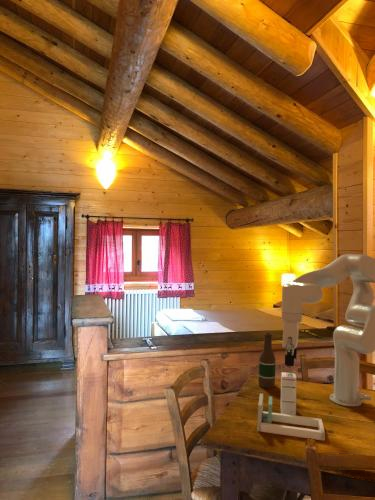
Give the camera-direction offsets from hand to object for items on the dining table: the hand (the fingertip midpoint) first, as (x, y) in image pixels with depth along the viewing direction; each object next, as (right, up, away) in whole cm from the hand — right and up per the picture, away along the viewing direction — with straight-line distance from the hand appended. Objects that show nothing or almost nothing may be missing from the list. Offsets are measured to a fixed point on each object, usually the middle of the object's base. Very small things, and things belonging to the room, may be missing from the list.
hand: (290, 361), depth 145 cm
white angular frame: (-3, -20, -10) cm, 23 cm away
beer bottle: (-3, -20, +32) cm, 38 cm away
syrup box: (0, -21, +3) cm, 21 cm away
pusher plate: (-11, -20, -9) cm, 24 cm away
